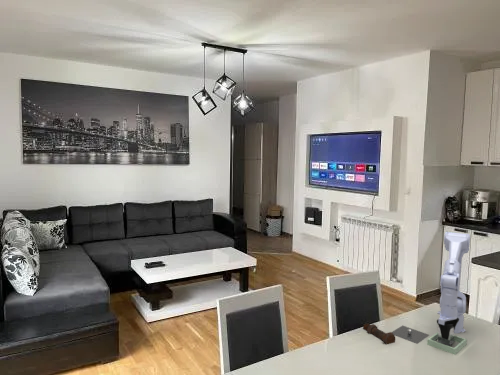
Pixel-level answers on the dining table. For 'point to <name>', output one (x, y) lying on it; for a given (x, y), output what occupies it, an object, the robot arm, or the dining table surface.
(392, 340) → the bolt
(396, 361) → the dining table surface
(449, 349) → the parts tray
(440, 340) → the grey metal block
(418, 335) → the stud plate
